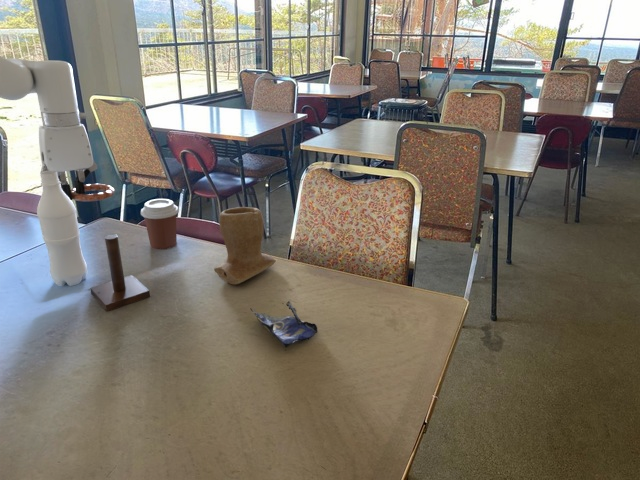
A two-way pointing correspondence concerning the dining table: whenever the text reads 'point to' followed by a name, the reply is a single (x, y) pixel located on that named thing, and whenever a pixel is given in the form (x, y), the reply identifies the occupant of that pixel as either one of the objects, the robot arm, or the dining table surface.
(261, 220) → the stone cup
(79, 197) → the hanging ring
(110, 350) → the dining table surface
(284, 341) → the snack package
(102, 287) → the ring toss peg
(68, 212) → the water bottle
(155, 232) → the coffee cup
